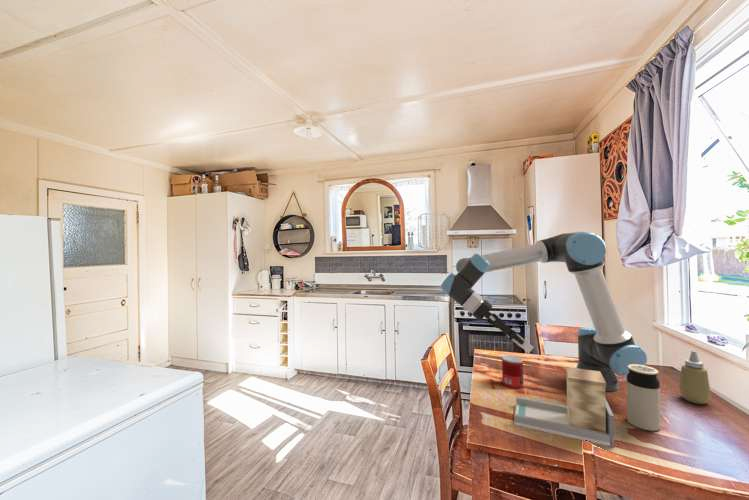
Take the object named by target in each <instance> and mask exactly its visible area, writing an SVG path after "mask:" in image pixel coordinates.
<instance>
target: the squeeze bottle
mask: <svg viewBox="0 0 749 500" xmlns="http://www.w3.org/2000/svg"><path fill="white" fill-rule="evenodd" d="M680 369H681V370H680V376H679V384H678V388H679V391H680V393H681V396H682V398H683V399H684V400H686V401H688V402H690V403H694V404H700V405H705V404H707V402H708V401H709V398H710V397H711V388H710V387H711V385H710V381H709V373H708V371H707V369H705V368H704V363H703V361H700V359H699V356H698V352H697V351H695V350H691V352H690V356H689V359H684V364H683V365H681V368H680Z"/></svg>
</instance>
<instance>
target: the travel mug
mask: <svg viewBox="0 0 749 500" xmlns="http://www.w3.org/2000/svg"><path fill="white" fill-rule="evenodd" d="M627 367H628V368H629V373H628V374H627V376H626V417H627V418H626V419H627V422H628V423H629V424H631V425H632V426H635V427H636V428H639V429H641V430H645V431H650V432H651V431H655V432H656V431H660V430H661V390H660V389H661V381H660V380H659V379H658V374H659V370H657V369H656V368H654V367H651V366H648V365H646V366H645V365H638V364H630V365H628V366H627Z"/></svg>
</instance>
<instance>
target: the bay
mask: <svg viewBox="0 0 749 500" xmlns="http://www.w3.org/2000/svg"><path fill="white" fill-rule="evenodd" d="M515 397H516V398H515V401H516V402H515V412H514V416H513V420H514V421H513V422H514V426H518V427H521V428H525V429H526V428H527V429H531V430H536V431H541V432H545V433H549V434H554V435H558V436H562V437H567V438H572V439H575V440H580V441H584V440H588V441H591V442H590V443H594V444H598V445H603V446H607V447H611V448H615V415H614V413H613V410H612V409H611V407H610V405H609V402H608V400H607V398H606V397H605V401H606V433H603V432H598V431H594V430H589V429H584V428H580V427H575V426H570V425H569V422H568V417H567V405H564V404H558V403H552V402H547V401H544V400H543V401H542V400H537V399H531V398H526V397H522V396H515ZM588 441H587V442H588Z"/></svg>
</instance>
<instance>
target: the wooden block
mask: <svg viewBox="0 0 749 500" xmlns="http://www.w3.org/2000/svg"><path fill="white" fill-rule="evenodd" d="M565 373H566V406H567V417H568V422H569V425H570V426H575V427H580V428H584V429H589V430H594V431H598V432H603V433H606V401H605V398H606V391H605V387H606V382H605V380H604V378H603V376H602V374H601V372H600V371H593V370H586V369H578V368H576V367H569V366H565Z"/></svg>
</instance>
